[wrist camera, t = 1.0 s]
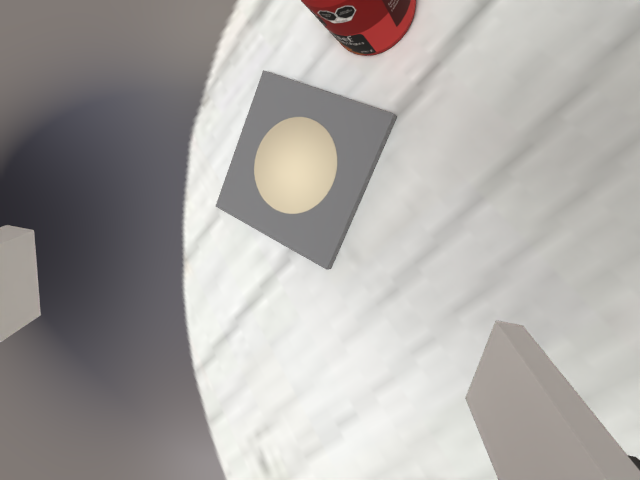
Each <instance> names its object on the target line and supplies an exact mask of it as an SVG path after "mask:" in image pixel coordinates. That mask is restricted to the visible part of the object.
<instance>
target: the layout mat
mask: <svg viewBox="0 0 640 480" xmlns="http://www.w3.org/2000/svg"><path fill="white" fill-rule="evenodd" d="M396 118H397V116H396V115H395V114H393V113H390V112H387V111H384V110H381V109H378V108H375V107H372V106H369V105H366V104H363V103H360V102H357V101H354V100H351V99H348V98H345V97H342V96H339V95H336V94H333V93H330V92H327V91H324V90H321V89H318V88H315V87H312V86H309V85H306V84H303V83H300V82H297V81H294V80H291V79H288V78H285V77H282V76H279V75H276V74H273V73H270V72H267V71H264V70H263V73H262V76H261V78H260V81H259V84H258V87H257V90H256V93H255V96H254V98H253V101H252V104H251V107H250V110H249V113H248V115H247V118H246V121H245V124H244V127H243V130H242V133H241V135H240V138H239V141H238V144H237V147H236V150H235V152H234V155H233V158H232V161H231V164H230V167H229V170H228V172H227V175H226V178H225V181H224V184H223V187H222V189H221V192H220V195H219V198H218V201H217V204H216V207H218V208H219V209H221V210H223V211H225V212H227V213H228V214H230V215H232V216H234V217H235V218H237V219H239V220H241V221H242V222H244V223H246V224H248V225H249V226H251V227H253V228H255V229H256V230H258V231H260V232H262V233H263V234H265V235H267V236H269V237H270V238H272V239H274V240H276V241H277V242H279V243H281V244H283V245H284V246H286V247H288V248H290V249H291V250H293V251H295V252H297V253H299V254H300V255H302V256H304V257H306V258H307V259H309V260H311V261H313V262H314V263H316V264H318V265H320V266H321V267H323V268H325V269H331V268H332V265H333V263H334V261H335V258H336V256H337V254H338V251H339V249H340V247H341V245H342V242H343V240H344V238H345V235H346V233H347V231H348V228H349V226H350V224H351V222H352V219H353V217H354V215H355V212H356V210H357V208H358V205H359V203H360V201H361V198H362V196H363V194H364V192H365V189H366V187H367V185H368V182H369V180H370V178H371V175H372V173H373V171H374V169H375V166H376V164H377V162H378V159H379V157H380V155H381V152H382V150H383V148H384V146H385V143H386V141H387V139H388V136H389V134H390V132H391V129H392V127H393V125H394V122H395V120H396Z"/></svg>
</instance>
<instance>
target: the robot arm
mask: <svg viewBox="0 0 640 480" xmlns="http://www.w3.org/2000/svg"><path fill="white" fill-rule="evenodd" d="M40 315H41V314H40V301H39V289H38V277H37V264H36V251H35V239H34V230H30V229H24V228H19V227H14V226H9V225H6V226H3V227H0V342H1V341H3V340H5V339H6V338H7V337H9V336H10V335H12V334H13V333H15V332H16V331H18V330H19V329H21V328H22V327H24V326H25V325H27V324H28V323H30V322H31V321H32V320H34V319H35V318H37V317H38V316H40ZM466 401H467V403H468V406H469V408H470V411H471V413H472V416H473V418H474V421H475V423H476V426H477V428H478V430H479V433H480V435H481V438H482V440H483V443H484V445H485V448H486V450H487V453H488V455H489V458H490V460H491V462H492V465H493V467H494V470H495V472H496V475H497V477H498V480H640V460H639V459H638V458H636V457H633V456H628V455H627V454H626V453H625V452H624V451H623V449H622V448H621V447H620V446H619V444H618V443H617V442H616V441H615V439H614V438H613V437H612V436H611V434H610V433H609V432H608V431H607V429H606V428H605V427H604V426H603V424H602V423H601V422H600V421H599V420H598V418H597V417H596V416H595V415H594V413H593V412H592V411H591V410H590V408H589V407H588V406H587V405H586V403H585V402H584V401H583V400H582V398H581V397H580V396H579V395H578V393H577V392H576V391H575V390H574V388H573V387H572V386H571V385H570V383H569V382H568V381H567V380H566V379H565V377H564V376H563V375H562V374H561V372H560V371H559V370H558V369H557V367H556V366H555V365H554V364H553V362H552V361H551V360H550V359H549V357H548V356H547V355H546V354H545V352H544V351H543V350H542V349H541V347H540V346H539V345H538V344H537V342H536V341H535V340H534V339H533V338H532V336H531V335H530V334H529V333H528V331H527V330H526V329H525V328H524V326H522V325H517V324H512V323H507V322H502V321H495V324H494V326H493V329H492V332H491V334H490V337H489V339H488V342H487V344H486V347H485V349H484V352H483V354H482V357H481V360H480V362H479V365H478V367H477V370H476V372H475V375H474V377H473V380H472V383H471V385H470V388H469V390H468V393H467V395H466Z"/></svg>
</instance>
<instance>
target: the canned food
mask: <svg viewBox="0 0 640 480" xmlns="http://www.w3.org/2000/svg"><path fill="white" fill-rule="evenodd" d="M301 1H302V2H303V3H304V4H305V5H306V6H307V8H308V9H309V10H310V11H311V12H312V13H313V14H314V15H315V16H316V17H317V18H318V20H319V21H320V22H321V23H322V24H323V25H324V26H325V27H326V28H327V29H328V30H329V32H330V33H331V34H332V35H333V36H334V37H335V38H336V39H337V40H338V41H339V42H340V44H341V45H342V46H343V47H344V48H346V49H347V50H348V51H350V52H353V53H355V54H359V55H365V56H367V55H375V54H379V53H382V52H384V51H386V50H388V49H389V48H391V47H392V46H394V45H395V44H396V43H397V42H398V41H399V40H400V39H401V38H402V37H403V36H404V35H405V33H406V32H407V30H408V28H409V27H410V25H411V22H412V20H413V17H414V12H415V6H416V0H301Z"/></svg>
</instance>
